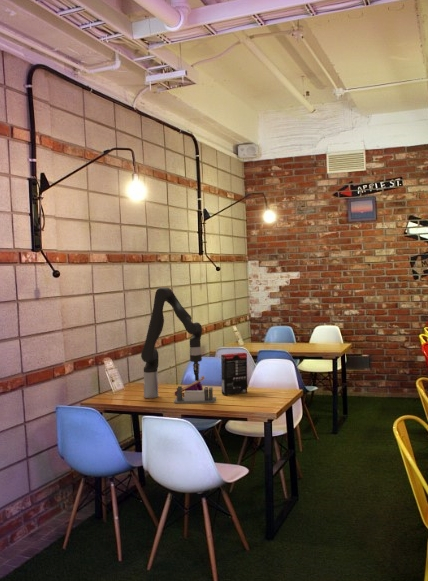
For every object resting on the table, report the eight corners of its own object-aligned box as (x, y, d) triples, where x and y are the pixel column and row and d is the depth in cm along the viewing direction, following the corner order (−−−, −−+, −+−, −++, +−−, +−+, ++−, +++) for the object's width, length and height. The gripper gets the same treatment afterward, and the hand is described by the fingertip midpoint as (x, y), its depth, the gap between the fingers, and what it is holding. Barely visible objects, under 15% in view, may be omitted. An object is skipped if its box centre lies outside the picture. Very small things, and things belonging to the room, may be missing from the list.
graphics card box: (243, 391, 395) (242, 351, 394) (248, 393, 389) (247, 353, 388) (221, 394, 388) (220, 354, 387) (226, 396, 382) (224, 355, 381)
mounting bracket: (177, 404, 388) (199, 394, 382) (172, 393, 389) (193, 382, 383) (183, 401, 396) (204, 391, 390) (178, 390, 398) (199, 380, 391)
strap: (178, 393, 369) (177, 390, 369) (179, 391, 373) (177, 389, 373) (204, 379, 368) (203, 376, 368) (205, 378, 371) (203, 375, 371)
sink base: (173, 403, 365) (173, 389, 364) (176, 399, 378) (176, 385, 377) (214, 403, 363) (214, 388, 363) (215, 398, 376) (215, 384, 376)
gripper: (191, 352, 376) (192, 378, 377) (188, 355, 363) (190, 382, 363) (202, 352, 376) (203, 378, 376) (200, 355, 362) (201, 382, 363)
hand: (197, 380), depth 370 cm, fingers closed
